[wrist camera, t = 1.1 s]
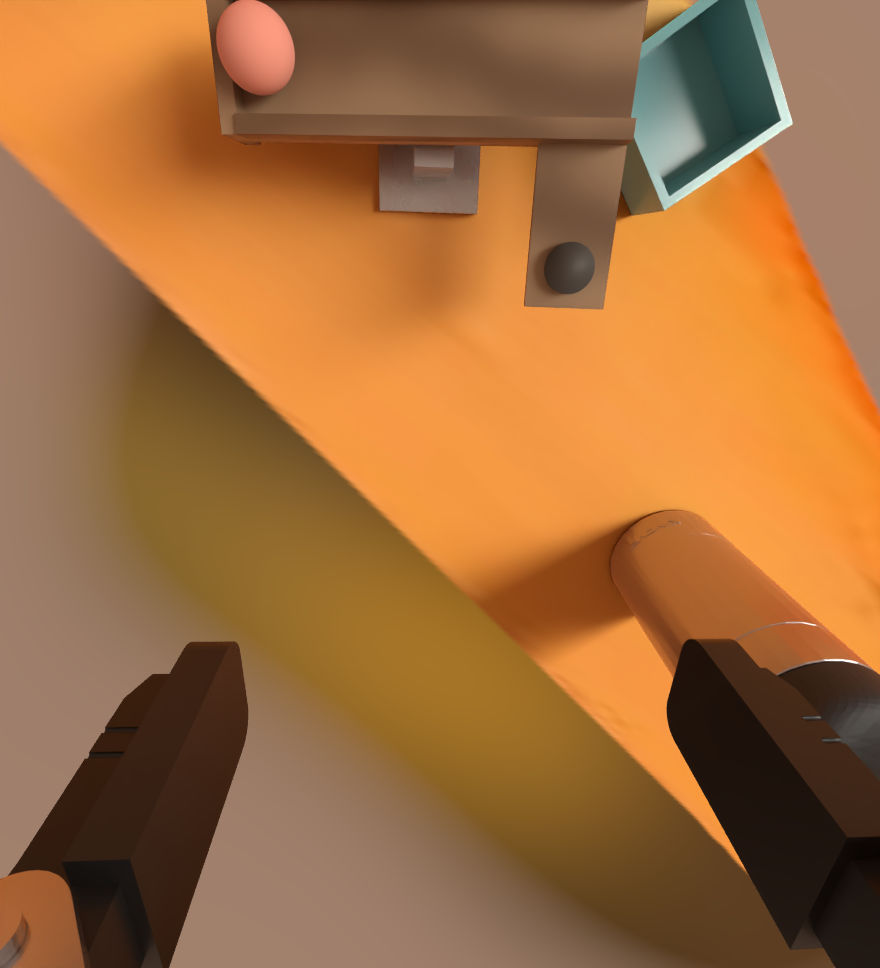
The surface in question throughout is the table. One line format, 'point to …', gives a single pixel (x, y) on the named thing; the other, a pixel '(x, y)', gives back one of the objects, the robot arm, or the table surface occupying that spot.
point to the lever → (470, 103)
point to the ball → (255, 47)
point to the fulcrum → (429, 178)
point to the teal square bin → (700, 102)
